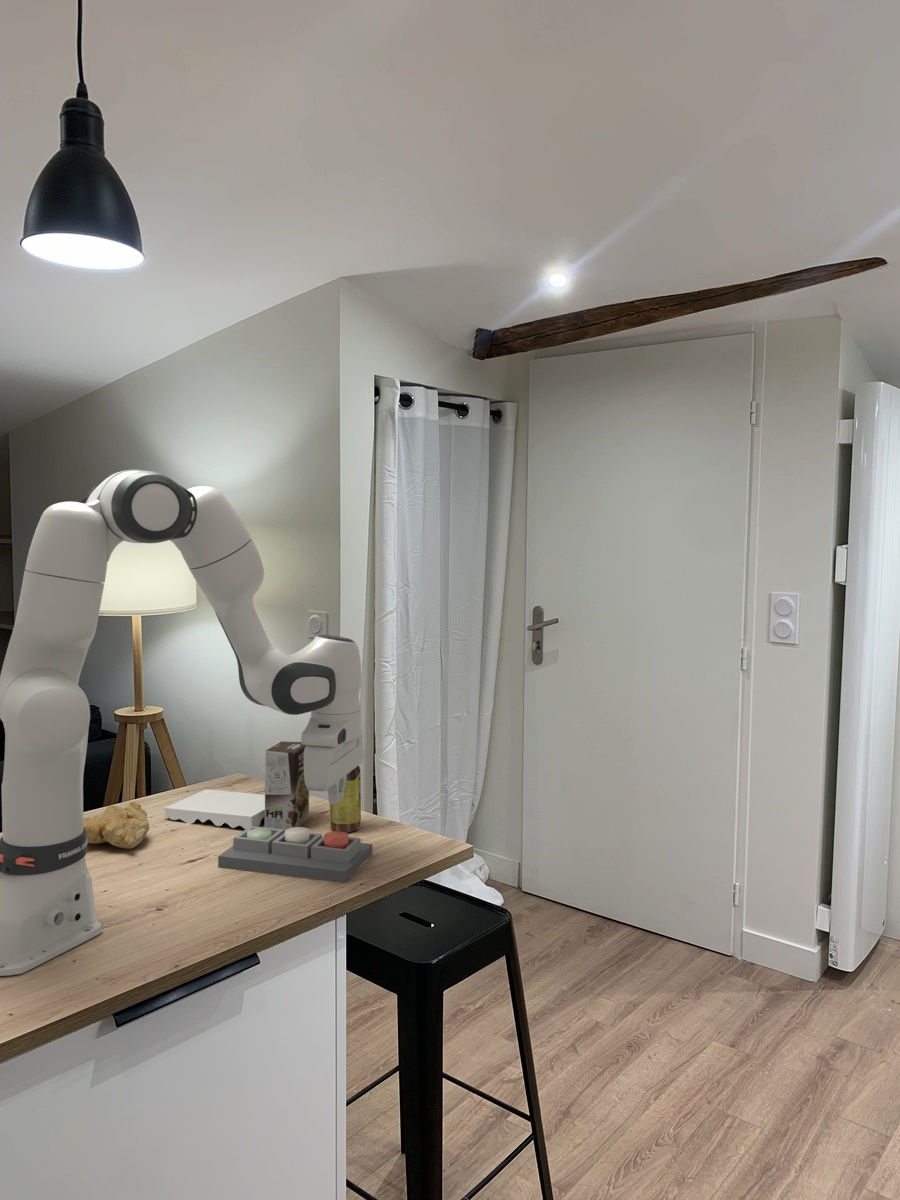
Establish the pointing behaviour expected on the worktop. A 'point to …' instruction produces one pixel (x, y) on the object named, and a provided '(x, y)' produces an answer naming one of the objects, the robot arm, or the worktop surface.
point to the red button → (336, 839)
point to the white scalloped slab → (220, 808)
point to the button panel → (295, 856)
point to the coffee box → (285, 786)
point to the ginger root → (118, 826)
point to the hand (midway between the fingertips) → (336, 801)
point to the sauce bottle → (348, 805)
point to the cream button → (297, 835)
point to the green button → (259, 833)
